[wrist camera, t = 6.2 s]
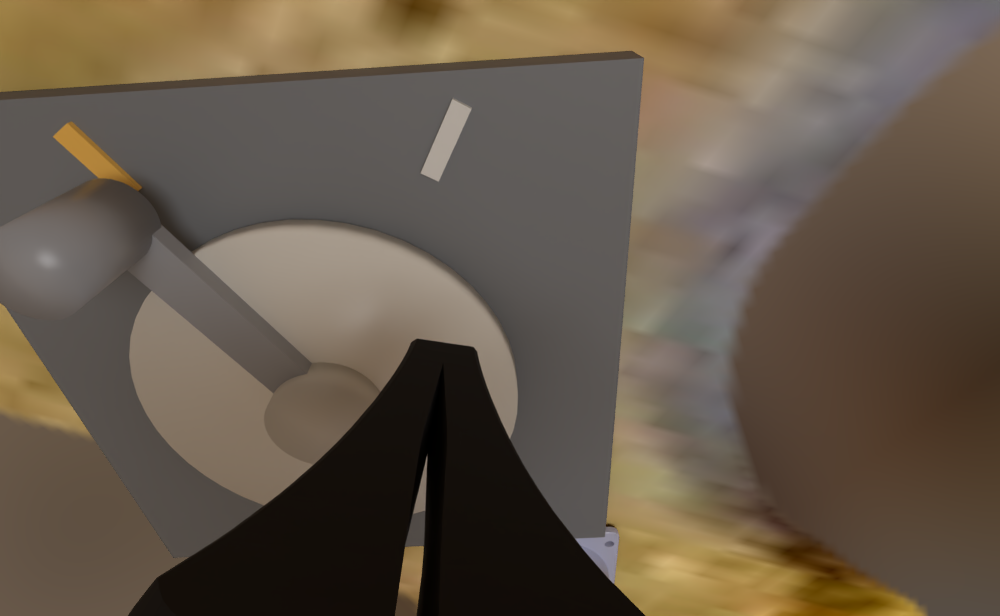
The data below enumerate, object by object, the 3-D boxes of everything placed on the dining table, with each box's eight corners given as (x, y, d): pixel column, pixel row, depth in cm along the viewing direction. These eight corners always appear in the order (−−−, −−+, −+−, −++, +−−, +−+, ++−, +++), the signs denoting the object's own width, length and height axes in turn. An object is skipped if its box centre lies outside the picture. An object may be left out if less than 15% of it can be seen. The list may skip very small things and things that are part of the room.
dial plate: (599, 511, 28) (605, 540, 26) (187, 531, 28) (171, 561, 27) (631, 50, 16) (645, 58, 15) (-80, 97, 16) (-135, 109, 15)
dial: (581, 422, 22) (600, 522, 18) (328, 538, 26) (298, 641, 22) (270, 29, 14) (183, 53, 10) (-25, 283, 18) (-171, 373, 14)
